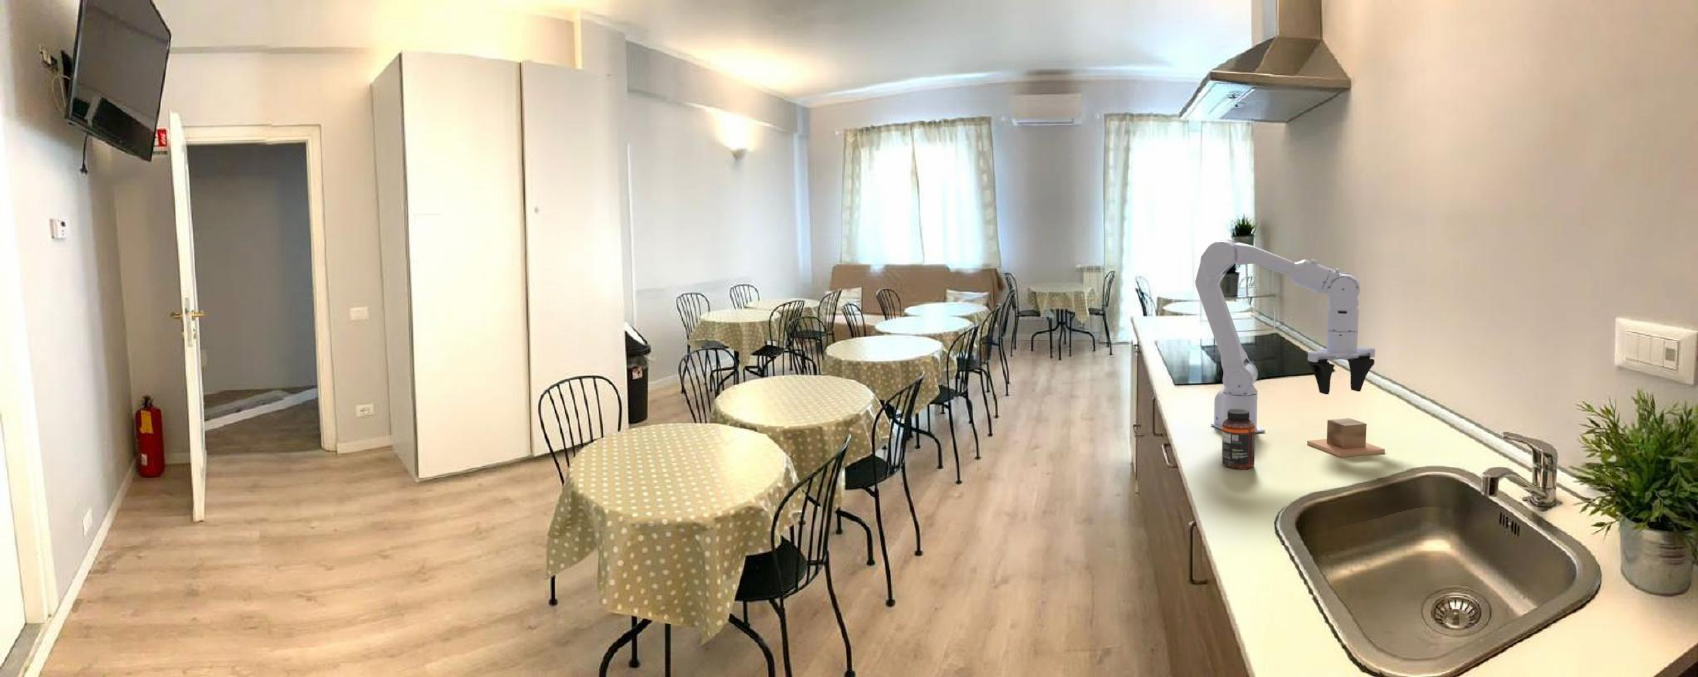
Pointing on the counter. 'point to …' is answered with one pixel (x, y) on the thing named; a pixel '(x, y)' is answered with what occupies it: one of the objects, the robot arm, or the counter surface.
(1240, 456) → the supplement bottle
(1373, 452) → the terracotta tile
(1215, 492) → the counter surface
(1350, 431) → the walnut cube
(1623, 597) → the counter surface
